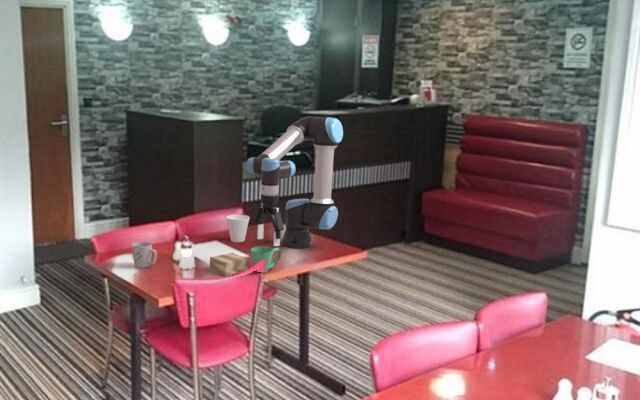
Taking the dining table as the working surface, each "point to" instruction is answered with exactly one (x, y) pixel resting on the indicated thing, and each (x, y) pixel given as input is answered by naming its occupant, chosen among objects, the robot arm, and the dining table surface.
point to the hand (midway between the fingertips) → (268, 242)
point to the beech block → (228, 264)
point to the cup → (237, 227)
